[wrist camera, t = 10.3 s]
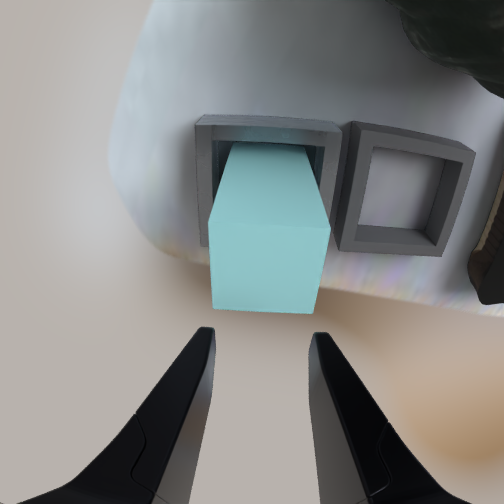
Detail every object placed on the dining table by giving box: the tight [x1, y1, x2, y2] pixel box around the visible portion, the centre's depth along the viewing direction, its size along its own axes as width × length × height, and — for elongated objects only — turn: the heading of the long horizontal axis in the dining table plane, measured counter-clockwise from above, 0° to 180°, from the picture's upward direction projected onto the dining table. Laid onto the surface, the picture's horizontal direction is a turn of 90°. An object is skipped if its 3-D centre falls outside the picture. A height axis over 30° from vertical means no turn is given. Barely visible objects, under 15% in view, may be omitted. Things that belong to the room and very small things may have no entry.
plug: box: [208, 142, 331, 314], centre depth 15 cm, size 4×4×9 cm
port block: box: [195, 115, 343, 247], centre depth 18 cm, size 7×7×2 cm
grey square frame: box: [333, 121, 476, 257], centre depth 18 cm, size 8×8×2 cm
